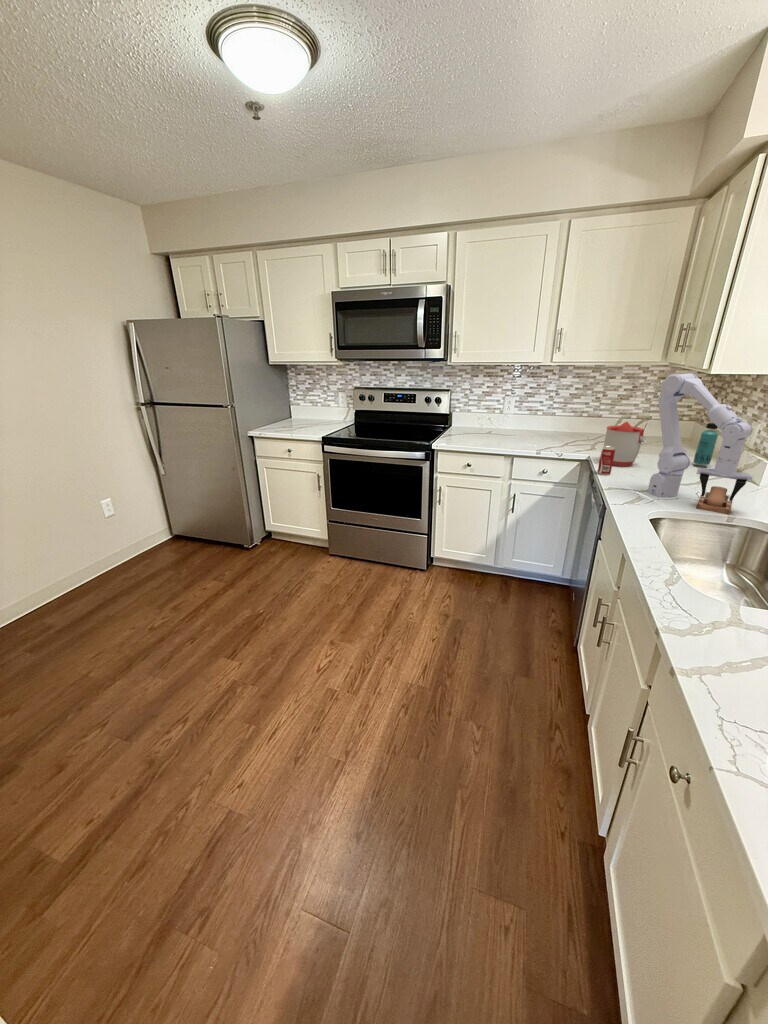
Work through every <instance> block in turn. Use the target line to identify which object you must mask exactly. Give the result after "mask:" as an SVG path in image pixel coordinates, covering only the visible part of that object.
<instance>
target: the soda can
mask: <svg viewBox="0 0 768 1024" xmlns="http://www.w3.org/2000/svg"><path fill="white" fill-rule="evenodd" d="M614 454H615V447H611V446H604V445H603V447H602V448H601V452H600V458H599V463H598V468H597V474H598V475H600V476H610V475H612V474H611V473H612V469H613V465H612V464H613V459H614Z"/></svg>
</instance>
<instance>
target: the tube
mask: <svg viewBox="0 0 768 1024" xmlns="http://www.w3.org/2000/svg"><path fill="white" fill-rule="evenodd" d="M709 492H710V493H709V497H708V500H707V504H706V505H712V506H717V507H722V506H723V503H724V499H725V496H726V495H727V492H728V488H726V487H723V486H715V485H714V486H711V487H710V491H709Z"/></svg>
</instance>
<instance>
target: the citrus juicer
mask: <svg viewBox="0 0 768 1024" xmlns="http://www.w3.org/2000/svg"><path fill="white" fill-rule="evenodd" d="M644 432H645V429H644V428H642V427H639V426H638V427H637V426H632V425H631V424H630V423H629V422H628V421H624V422H623V423H622V424H620V425H608V426H607V427H606V432H605V438H604V443H603V447H604V446H611V447H615V454H614V459H613V464H612V466H616V467H629V466H632V465H633V464H634V462H635V461H636V459H637V457H638V456H639V453H640V449H641V445H642V443H644V444H645V443H647V438H646V437H645V436H644Z"/></svg>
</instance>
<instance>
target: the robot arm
mask: <svg viewBox="0 0 768 1024" xmlns="http://www.w3.org/2000/svg"><path fill="white" fill-rule="evenodd" d="M686 395H690V396H692V397H693V398H694V399H696V401H697V402H699V404H700V405H702V406H703V407H704V408H705V409H706V410H707V411H708V412H707V413H708V414H707V417H708V418H709V419H710V421H711V422H712V423H715V424H716V426H717V427H718V428H717V429H719V430H720V436H721V438H722V442H721V446H720V449H719V451H718V456H717V459H716V462H715V466H714V468H704V467H698V468H697V469H696V470H697V471H696V475H699V481H700V485H701V494H700V496H704V494H705V492H707V491H706V490H707V489H706V488H707V485H708V481H709V478H710V477H715V478H716V477H718V478H724V479H731V480H735V484H734V486H733V489H732V492H731V495H730V496H731V497H730V500H729V501H732V500H734V498H735V496H736V495H737V494H738V492H739V491H740V490H741V489H742V488H743V487H744V486H745V485H746V484H747V482H749V483H751V482H752V479H753V475H752V474H747V473H742V472H739V471H738V472H737V469H738V465H739V463H740V459H741V456H742V454H743V450H744V447H745V444H746V440H747V439H748V438H749V437H750V436H751V435H752V433H753V426H752V425H751V423H750V422H749V421H745V420H743V418H742V417H741V416H738V415H737V414H736V413H735V412H734V411H733V410H732V409H733V407H732V406H731V405H727V404H726V403H719V402H718V401H717V399H716V397H714V396H713V394H712V393H711V392H710V391H709V390H708V388H707V387H706V386H705V385H704V383H703V382H702V379H701V378H699V377H698V376H697V375H696V374H695V373H694V372H693V373H692V372H687V373H671V374H669V375H668V376H667V377H665V378H664V380H663V381H662V382H661V390H660V394H659V397H658V402H657V403H658V409H659V410H658V411H659V420H660V429H661V437H662V445H663V448H662V449H661V451H660V452H659V454H658V457H659V458H658V461H657V468H658V470H659V471H658V472H656V473H653V474H652V475H651V476H650V479H649V484H648V487H647V493H648V494H651V495H654V496H656V497H658V498H660V497H661V498H665V497H670V498H671V497H672V498H674V497H677V496H678V493H679V491H680V486H681V482H682V480H683V475H684V472H685V471H686V470H687V469H688V468H689V467H690V464H691V459H690V457H689V456H688V454H687V449H686V448H685V447H684V446H683V445H682V438H681V430H680V419H679V410H678V402H679V401H680V400H681V398H683V396H686ZM732 502H733V501H732Z"/></svg>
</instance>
